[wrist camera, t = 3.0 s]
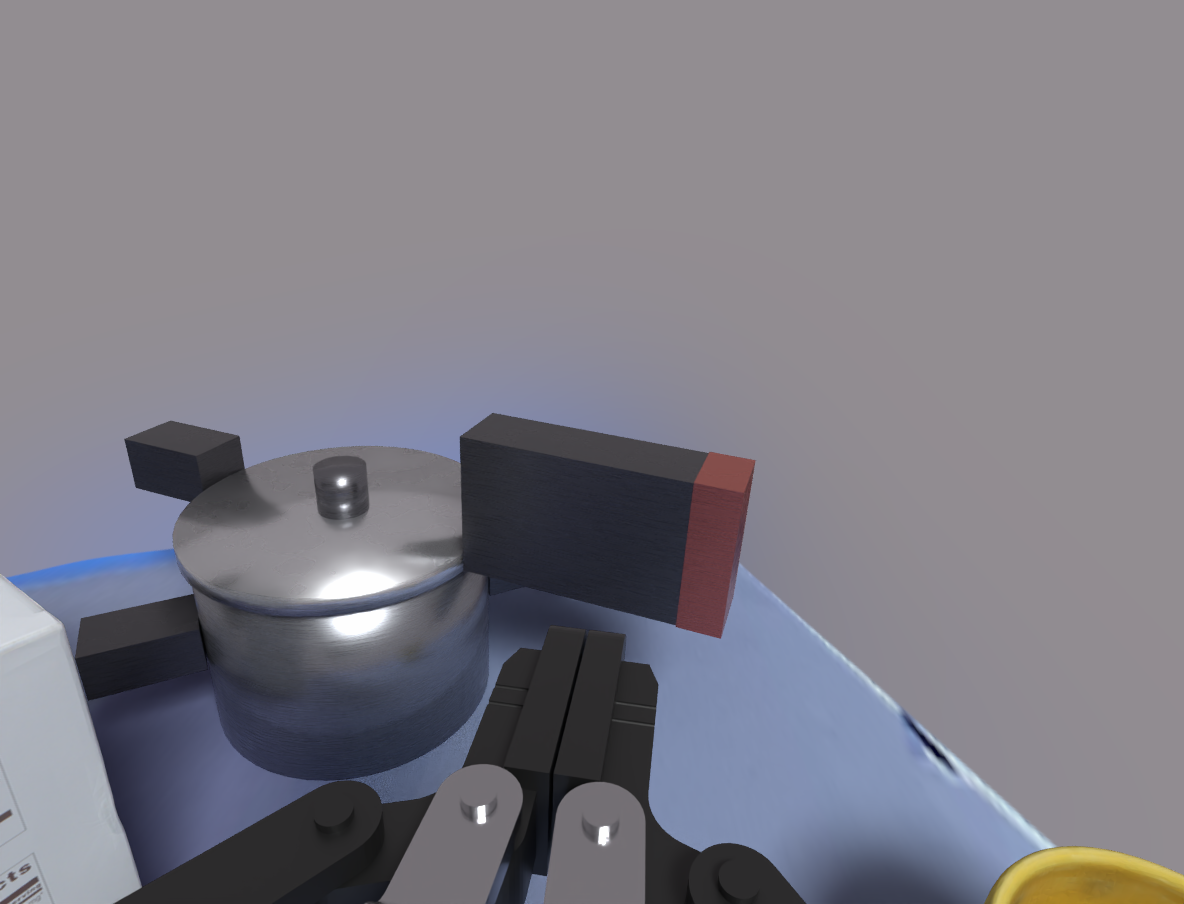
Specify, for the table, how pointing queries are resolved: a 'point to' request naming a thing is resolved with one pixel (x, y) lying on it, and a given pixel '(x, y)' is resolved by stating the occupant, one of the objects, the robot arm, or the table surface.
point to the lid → (455, 520)
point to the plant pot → (1086, 879)
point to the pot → (311, 673)
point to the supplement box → (52, 772)
